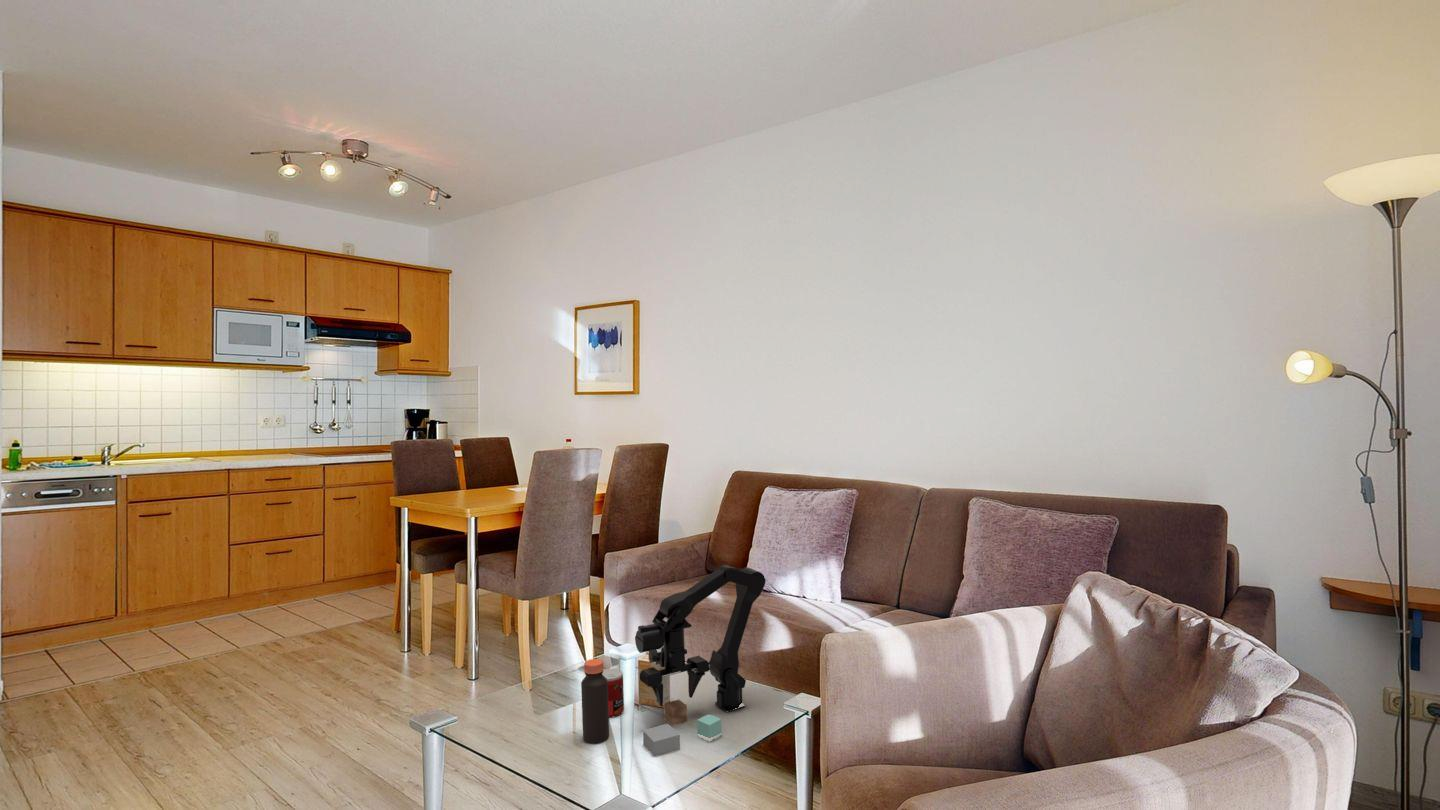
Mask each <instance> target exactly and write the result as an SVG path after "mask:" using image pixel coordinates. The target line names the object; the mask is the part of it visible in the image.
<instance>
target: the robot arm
mask: <svg viewBox="0 0 1440 810" xmlns="http://www.w3.org/2000/svg"><path fill="white" fill-rule="evenodd" d="M728 583H735V592H736V599H735V603H734V605H733V609H732V612H731V616H730V619H729V621H728V622H729V623H728V625H727V627H726V631H725V635H724V638H723V642H722V644H721V646H720V648H719V649H718V650H717V651H716V650H712V652H711V656H710V660H707V659H705V658H704V657H701V656H700V655H695V656H692V657H688V658H687V659H686V655H687V654H688V650H687V649H686V648H685V629H688V628H691V627H692V624H691V623H689V621H688V620H687V617H688V616H690V614H691V613H692V612H693V610H694V609H695V607H696V606H697V605H698V604H700V603H701V602H702V601H704V600H706V598H708V597H709V596H711V595H712V594H714V593H715V592H717V591H718V590H720V589H721V588H722V587H724V586H726V585H727V584H728ZM765 585H766V577H765V575H764V574H763V573H762V572H760V571H757V570H755V569H754V568H751V567H744V568H738V567H733V566H729V565H727V564H722V565H720V566H718V568H717V569H715V571H713V572H711V573H710V574H709V575H706V577H704V578H703V579H701V580H699V581H698V582H696V584H693V585H692V586H691V587H689V588H688V589H686V590H684V591H681V592H676V593H673V594H671V595H669V596H666V597H664V598H663V599H662V600H661V602H660V604H659V609H658V611H657V613H656V614H655V615H654V617H653V619H652V624H651V623H650V624H647V625H642V624H641V625H638V627H637V631H636V633H635V636H634V640H635V641H634V643H635V646H636V650H637V651H638V653H640V654H642V653H647V652H648V655H649V661H650V663H653V662H655V663H656V665H658V664H660V666H661V667H664V669H663V670H659V671H658V670H657V669H655V668H654V667H652V668H648V669H644V670H642V671H641V673H640V680H641V681H642V682H643V683H645V684H646V685H647V686H650V687H652V689H653V690H654V693H655V695H656V698H657V700H658V703H659V705H660V706H662V705H663V684H662V683H661V682H662V677H666V676H670V677H671V676H672V675H677V674H680V673H683V672H687V676H688V686H687V687H688V696H689V697H688V698H693V696H694V694H695V692H696V689H697V687H698V685H699V683H700V681H701V679H702V678H703V676H705V675H706V673H707V672H709V673H710V675H711V676H712V677H713V678H714V679H715V681H716V682H718V683H719V684H717V690H716V702H715V705H716V706H717V705H718V706H717V707H718V708H720V707H721V708H722V710H723V709H724V710H725V711H724V710H723V711H724V712H726V711H729V712H731V711H730V710H733V709H735V708H738V707H739V705H740V704H741V703H742V702H743V689H744V688H745V686H746V682H747V680H746V679H745V678H744V677H743V676H741V674H739V668H740V658H739V650H740V646H741V643H742V640H743V637H744V633H745V630H746V627H747V624H748V620H749V619H750V618H749V617H750V614H751V610H752V608H753V605H754V602H756V601H757V599H758V598H759V597H760V596H761V595H762V592H763V590H764V588H765ZM665 619H666V620H665ZM658 650H661V651H658ZM721 708H720V709H721ZM733 711H734V710H733Z"/></svg>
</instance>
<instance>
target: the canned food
mask: <svg viewBox="0 0 1440 810" xmlns="http://www.w3.org/2000/svg"><path fill="white" fill-rule="evenodd" d="M602 675H603V676H604V677H606V678H607V681H608V711H609V719H612V718H616V717H619V716H621V715H622V714H623V713H622V712H624V710H625V701H624V699H625V695H624V673H623V671H622V670H621V669H618V668H611V667H610V668H604V670H603V673H602ZM621 713H622V714H621Z"/></svg>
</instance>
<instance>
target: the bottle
mask: <svg viewBox="0 0 1440 810" xmlns="http://www.w3.org/2000/svg"><path fill="white" fill-rule="evenodd" d="M583 666H584V667H583V668H584V674H585V677H584V678H583V679H582V681H581V682H580V687H581V690H580V691H581V692H580V693H581V719H582V722H581V723H582V738H583V741H584V742H585V743H589V744H599V743H600V744H601V743H603V742H605V741H607V740H608V739H609V738H610V737H609V736H610V718H609V711H608V681H607V678H606V677H604V676H603V675H602V673H603V670H604V669H605V668H604V660H602V659H600V658H591V659H587V660H585V661H584V664H583Z"/></svg>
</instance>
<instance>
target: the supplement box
mask: <svg viewBox="0 0 1440 810" xmlns="http://www.w3.org/2000/svg"><path fill="white" fill-rule="evenodd" d="M652 667H654V668H655V669H657V670H658V671H659V670H663V669H664V667H661V666H660V664H658V665H656V663H655V662H653V663H650V661H649V654H647V653H646V654H645V653H644V654H643V655H642V656H641V657H639V658H638V659H637V676H638V677H637V680H638V682H637V684H638V685H637V687H638V690H637V691H638V704H641V705H646V706H652V707H658V708H662V709H665V707H664V703H668V702H671V675H670V676H666V677H662V682H661V683H662V684H663V705H662V706H660V705H659V703H658V700H657V698H656V695H655V693H654V690H653V689H652V687H650V686H647V685H646V684H645V683H643V682H642V681H641V680H640V673H641V671H642V670H644V669H648V668H652Z"/></svg>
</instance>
